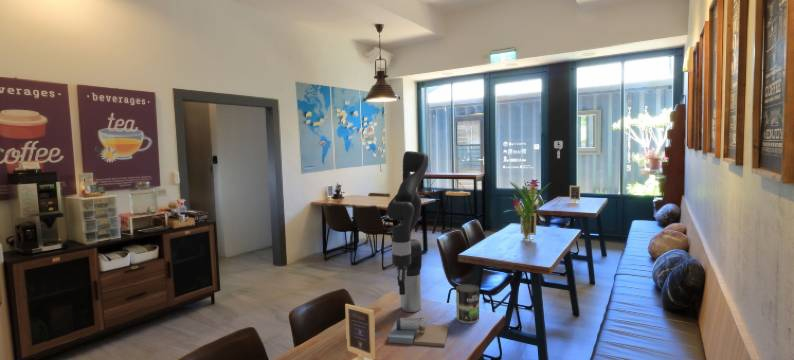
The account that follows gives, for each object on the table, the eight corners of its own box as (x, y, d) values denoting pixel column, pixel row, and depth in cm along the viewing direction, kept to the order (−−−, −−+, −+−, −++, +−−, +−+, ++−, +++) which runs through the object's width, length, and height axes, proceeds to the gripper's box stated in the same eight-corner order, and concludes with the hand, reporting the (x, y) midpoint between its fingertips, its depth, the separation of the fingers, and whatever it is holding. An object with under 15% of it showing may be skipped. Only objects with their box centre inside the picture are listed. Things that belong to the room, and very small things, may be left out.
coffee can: (484, 320, 185) (484, 289, 184) (465, 325, 180) (465, 293, 179) (470, 311, 194) (469, 282, 193) (451, 316, 190) (451, 286, 188)
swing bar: (426, 327, 174) (425, 317, 173) (425, 330, 170) (425, 320, 170) (397, 326, 175) (397, 317, 175) (396, 330, 172) (396, 320, 171)
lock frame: (396, 324, 183) (396, 313, 182) (448, 328, 178) (448, 316, 178) (388, 342, 167) (387, 330, 167) (444, 346, 163) (444, 334, 162)
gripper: (393, 247, 172) (394, 288, 174) (390, 256, 159) (391, 300, 161) (411, 247, 172) (412, 288, 174) (409, 256, 159) (410, 300, 160)
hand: (402, 294), depth 167 cm, fingers closed
